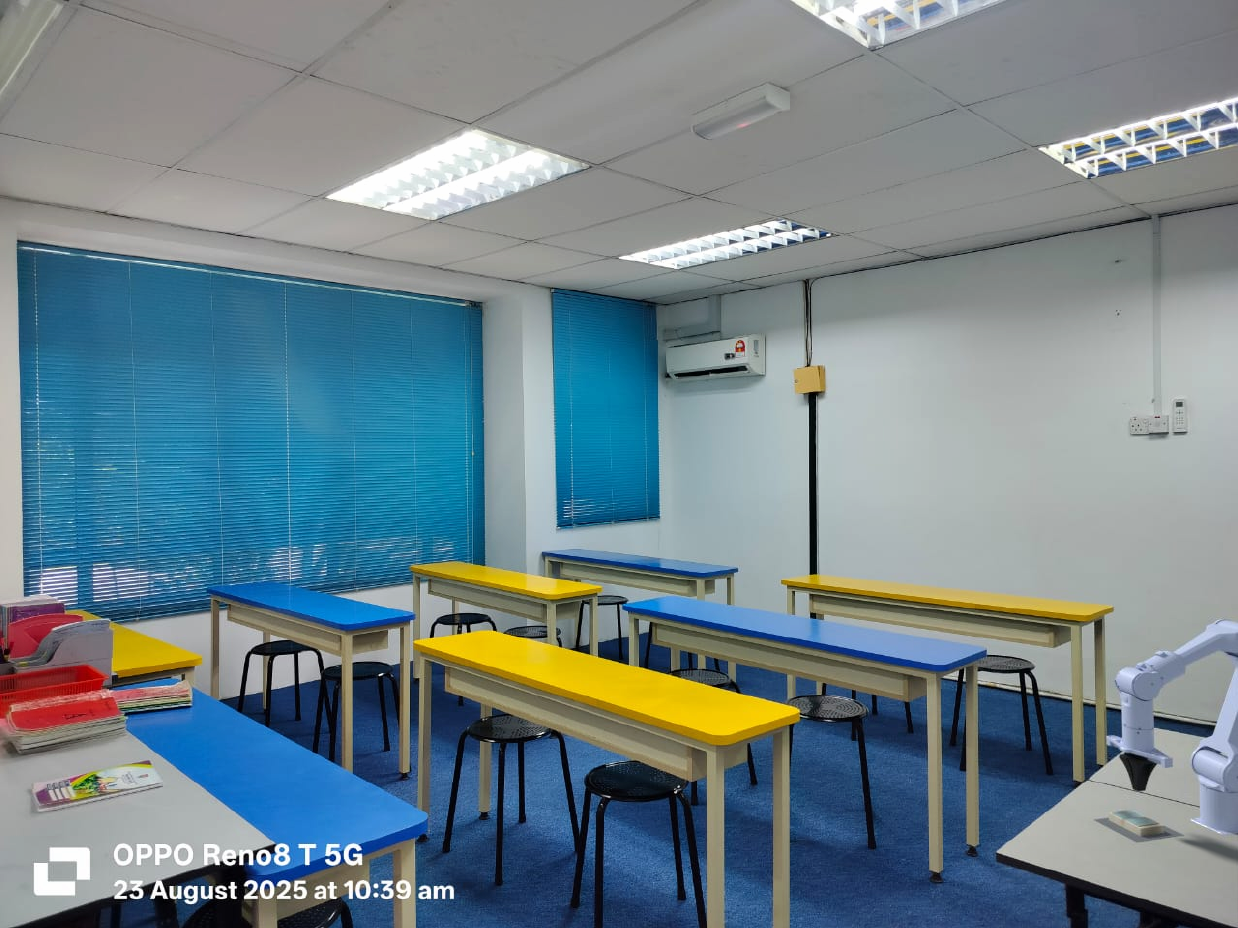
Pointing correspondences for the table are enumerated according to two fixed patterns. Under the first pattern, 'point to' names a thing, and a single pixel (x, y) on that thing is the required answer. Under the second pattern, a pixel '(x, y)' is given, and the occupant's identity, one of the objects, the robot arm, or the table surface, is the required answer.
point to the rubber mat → (1167, 834)
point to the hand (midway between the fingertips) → (1139, 789)
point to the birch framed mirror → (1136, 822)
